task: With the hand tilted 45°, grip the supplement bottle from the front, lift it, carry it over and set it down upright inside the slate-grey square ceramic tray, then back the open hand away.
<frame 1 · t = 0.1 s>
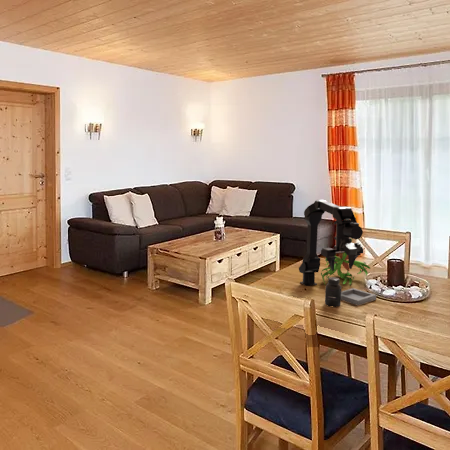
hand: (341, 269, 200), 15 cm above the table, tool pointing down, fingers open, 9 cm apart
supplement bottle: (332, 305, 198), on the table
decorative plant: (342, 280, 235), on the table
tray: (355, 298, 206), on the table
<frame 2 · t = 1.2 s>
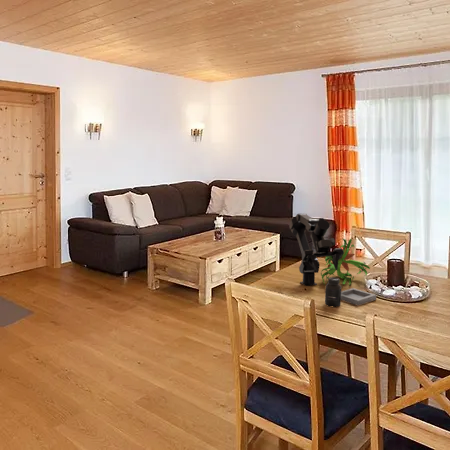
hand: (327, 270, 203), 14 cm above the table, tool tilted 45°, fingers open, 9 cm apart
nothing on the table moved.
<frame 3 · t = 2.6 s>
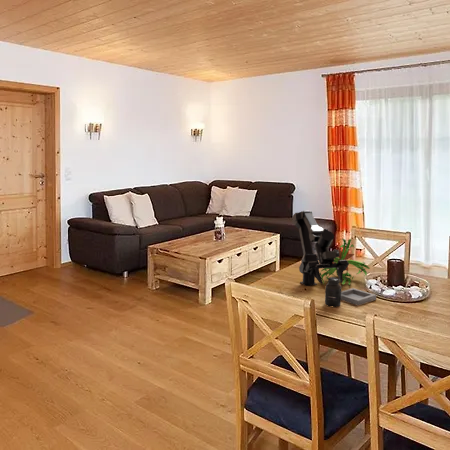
hand: (331, 282, 199), 9 cm above the table, tool tilted 45°, fingers open, 9 cm apart
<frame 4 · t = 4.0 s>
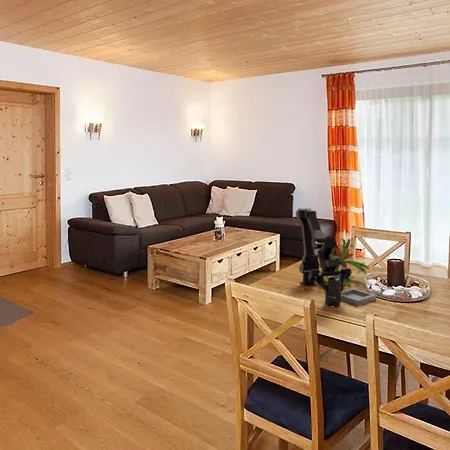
hand: (334, 291, 196), 7 cm above the table, tool tilted 45°, fingers closed on supplement bottle, 7 cm apart
supplement bottle: (332, 305, 198), on the table, touching gripper
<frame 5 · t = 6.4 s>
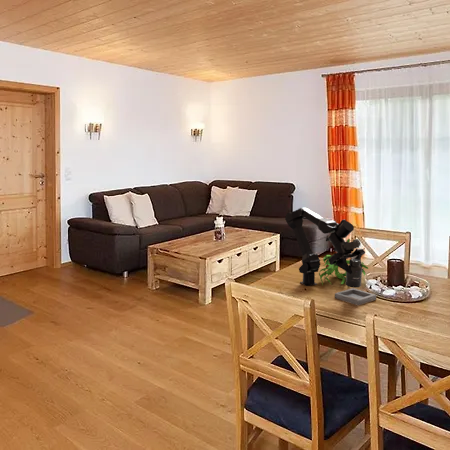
hand: (356, 272, 201), 13 cm above the table, tool tilted 45°, fingers closed on supplement bottle, 7 cm apart
supplement bottle: (353, 286, 204), point 6 cm above the table, touching gripper
when the fingers open (8 cm above the table, at t = 8.8 s): supplement bottle stays where it is, resting on tray.
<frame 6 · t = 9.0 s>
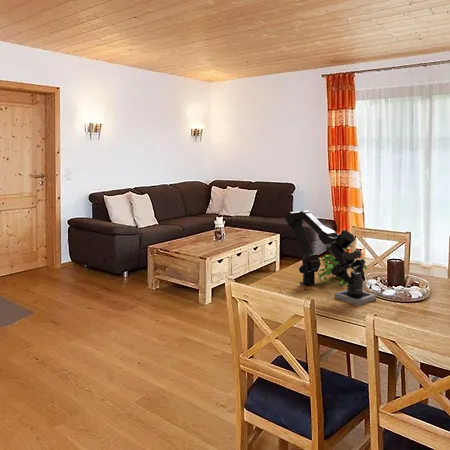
hand: (358, 282, 203), 8 cm above the table, tool tilted 45°, fingers open, 9 cm apart
supplement bottle: (354, 297, 206), resting on tray
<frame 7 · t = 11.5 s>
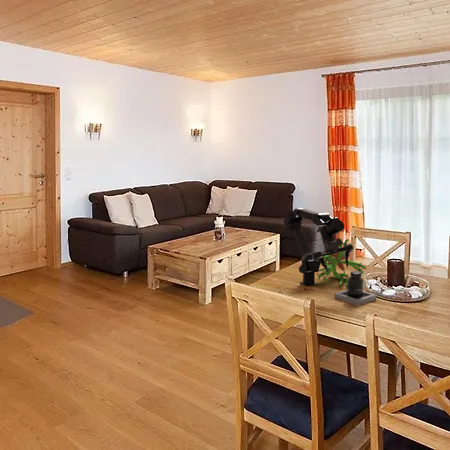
hand: (337, 269, 208), 13 cm above the table, tool tilted 30°, fingers open, 9 cm apart
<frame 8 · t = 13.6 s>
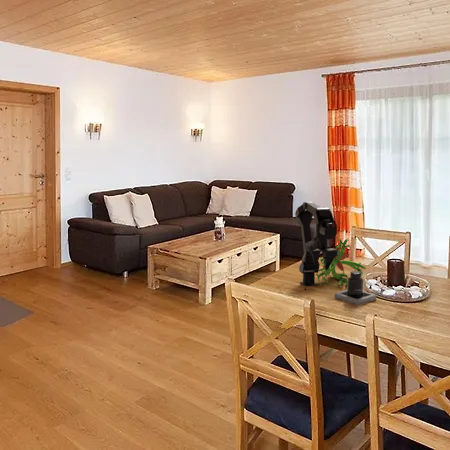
hand: (321, 267, 211), 13 cm above the table, tool pointing down, fingers open, 9 cm apart
at the end: supplement bottle 0.2 cm off-centre on the tray, point 0.4 cm above the tray's base; supplement bottle tilted 0°; the gripper is holding nothing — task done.
